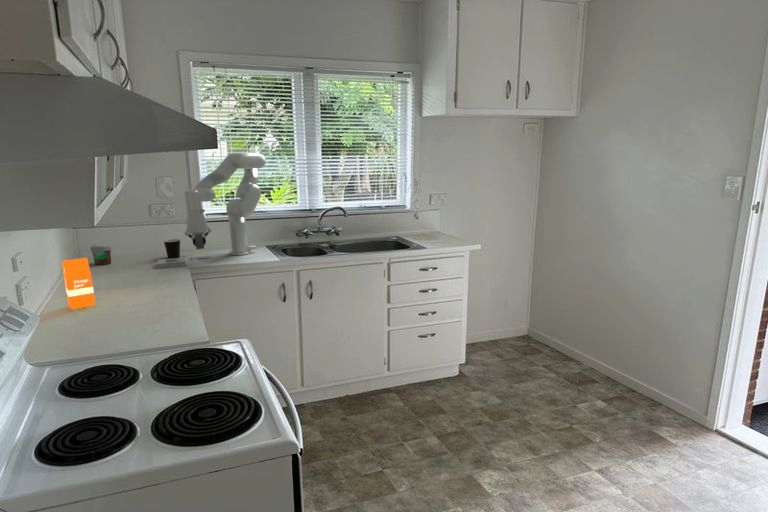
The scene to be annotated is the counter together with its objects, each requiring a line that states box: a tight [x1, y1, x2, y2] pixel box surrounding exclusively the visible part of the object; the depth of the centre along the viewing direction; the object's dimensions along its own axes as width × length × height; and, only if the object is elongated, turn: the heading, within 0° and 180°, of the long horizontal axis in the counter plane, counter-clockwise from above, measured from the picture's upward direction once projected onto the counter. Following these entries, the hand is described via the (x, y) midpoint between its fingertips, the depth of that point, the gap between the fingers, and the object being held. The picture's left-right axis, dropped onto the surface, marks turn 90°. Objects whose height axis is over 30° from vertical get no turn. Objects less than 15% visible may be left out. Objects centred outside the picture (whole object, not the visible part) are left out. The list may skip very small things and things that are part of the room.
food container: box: [89, 244, 112, 266], centre depth 277 cm, size 12×6×10 cm, turn 68°
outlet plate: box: [156, 257, 187, 269], centre depth 275 cm, size 14×10×2 cm
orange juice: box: [62, 257, 96, 309], centre depth 206 cm, size 8×9×20 cm
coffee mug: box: [163, 238, 181, 259], centre depth 293 cm, size 12×9×10 cm
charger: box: [194, 233, 205, 250], centre depth 280 cm, size 4×4×8 cm
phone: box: [190, 255, 212, 261], centre depth 290 cm, size 11×6×1 cm, turn 111°
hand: (199, 244), depth 280 cm, fingers closed on charger, 4 cm apart
